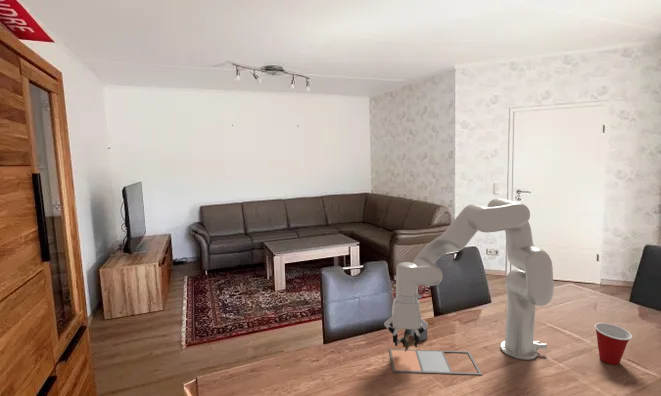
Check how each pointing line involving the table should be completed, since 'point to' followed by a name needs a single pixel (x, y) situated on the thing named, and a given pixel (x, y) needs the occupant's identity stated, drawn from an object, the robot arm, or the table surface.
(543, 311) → the table surface
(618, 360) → the plastic cup
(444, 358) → the board
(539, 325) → the table surface
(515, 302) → the robot arm
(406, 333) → the eagle figurine
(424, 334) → the die
